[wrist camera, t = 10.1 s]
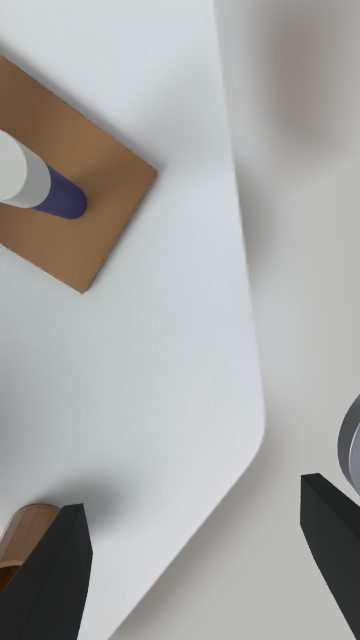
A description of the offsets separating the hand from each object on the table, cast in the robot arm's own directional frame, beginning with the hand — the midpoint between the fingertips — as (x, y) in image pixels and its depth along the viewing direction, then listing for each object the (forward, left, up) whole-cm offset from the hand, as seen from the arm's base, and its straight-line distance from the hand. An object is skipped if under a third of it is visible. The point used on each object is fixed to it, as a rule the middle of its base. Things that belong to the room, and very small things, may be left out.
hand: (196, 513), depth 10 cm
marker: (+5, -11, -10) cm, 16 cm away
